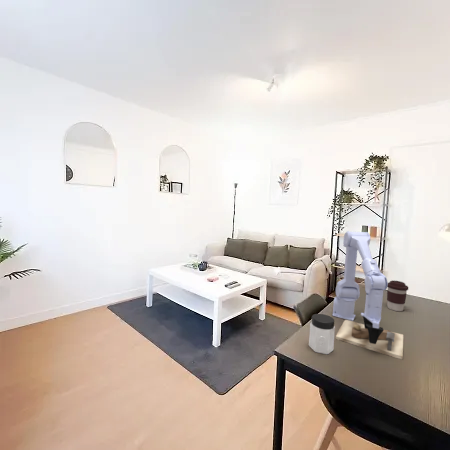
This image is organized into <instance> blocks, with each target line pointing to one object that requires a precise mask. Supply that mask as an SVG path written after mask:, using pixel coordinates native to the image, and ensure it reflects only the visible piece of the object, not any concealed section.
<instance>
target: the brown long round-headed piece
mask: <svg viewBox="0 0 450 450" xmlns="http://www.w3.org/2000/svg"><path fill="white" fill-rule="evenodd" d="M387 331H388V332H392V331H391V330H390V329H384V330H383V332H382V333H381V334H380V336H379V338H378V339H381V340H386V337H387ZM352 336H353V337H355V338H369V333H368V329H366V328H361V329H360V330H356V329H354V327H352Z"/></svg>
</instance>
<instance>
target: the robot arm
mask: <svg viewBox="0 0 450 450" xmlns="http://www.w3.org/2000/svg"><path fill="white" fill-rule="evenodd" d="M370 243H371V234H370V233H369V232H368V231H365V232H364V231H349V230H346V232H345V233H344V234H343V247H345V248H346V249H345V258H344V259H345V260H344V261H345V262H344V272H343V278H342V279H341V280H339V281H337V284H336V287H335V295H336V296H335V297H334V299H333V305H332V306H333V307H332V315H331V316H333V317H336V318H339V319H342V320H343V319H344V320H349V321H353V322H354V320H355V318H356V314H355V304H356V302H357V300H358V299H359V298H360V295H361V293H360V291H361V290H360V285H359V284H358V282H356V270H357V257H358V254H359V255H360V257H361V260H362V262H361V268H362V271H363V273H364V277H365V278H364V287H365V305H364V312H360V316H361V317H362V318H363V319H362V320H363V324H364V326H365V328H366V329H368V333H369V342H370V343H372V344H376V342H377V340H378V338H379V336H380V334H381V333H382V332H383V330H385V329H384V328H383V327H380V322H381V320H382V308H383V298H384V291H387V289H388V287H387V286H388V283H389V282H388V279H387V276H386V275H385V274H384V273H382V272H381V270H380V268H379V264H378V262H377V260H375V259H373V256H372V254H371V253H372V252H371V249H370Z"/></svg>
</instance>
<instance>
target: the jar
mask: <svg viewBox="0 0 450 450" xmlns="http://www.w3.org/2000/svg"><path fill="white" fill-rule="evenodd" d="M335 332H336V326H335V319H334V318H333V317H332V316H330V315H328V314H324V313H315V314H313V315H312V316H311V322H310V323H309V336H308V337H309V338H308V346H309V348H311V349H312V350H313V351H314V352H315V353H318V354H319V353H320V354H324V355H329V354H330V353H331V352H333V351H334V345H335V336H336V335H335V334H336V333H335Z"/></svg>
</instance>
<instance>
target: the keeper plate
mask: <svg viewBox="0 0 450 450" xmlns="http://www.w3.org/2000/svg"><path fill="white" fill-rule="evenodd" d="M352 327H354V329H356V330H360V329H361V328H365V326H364V323H360V322H357V321H354V320H353V321H351V320H347V319H344V321H343V322H342V325H341V326H340V327H339V330H338V331H337V332H336V335H335V340H338V341H341V342H345V343H348V344H349V345H350V344H351V345H354V346H356V347H357V346H358V347H360V348H363V349H367V350H369V351H374V352H376V353H379V354H383V355H386V356H390V357H393V358H395V359H399V360H403V356H404V355H403V353H404V352H403V351H404V334H402V333H398V332H393V331H391V332H388V331H387V337H386V340H381V339H378V340H377V342H376V344H372V343H370V342H369V338H355V337H353V336H352Z"/></svg>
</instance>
